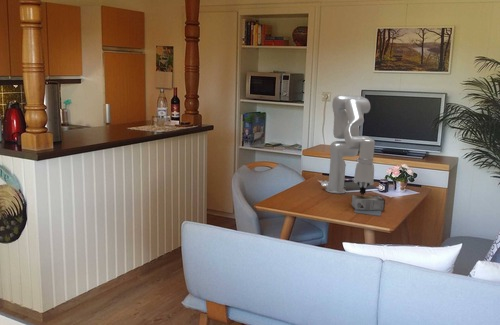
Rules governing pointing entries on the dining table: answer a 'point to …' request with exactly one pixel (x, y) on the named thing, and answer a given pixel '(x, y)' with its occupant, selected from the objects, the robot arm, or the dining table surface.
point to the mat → (369, 212)
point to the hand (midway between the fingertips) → (362, 194)
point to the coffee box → (368, 202)
